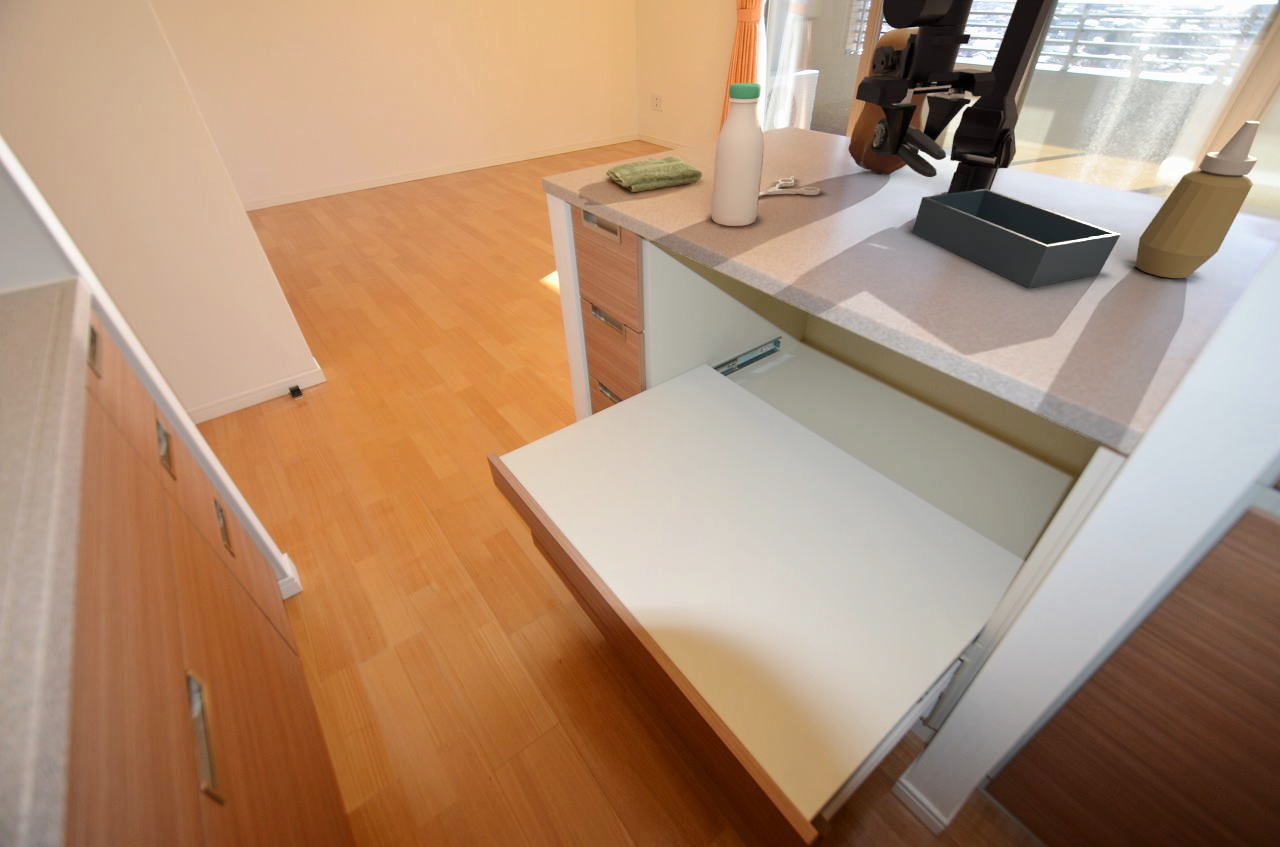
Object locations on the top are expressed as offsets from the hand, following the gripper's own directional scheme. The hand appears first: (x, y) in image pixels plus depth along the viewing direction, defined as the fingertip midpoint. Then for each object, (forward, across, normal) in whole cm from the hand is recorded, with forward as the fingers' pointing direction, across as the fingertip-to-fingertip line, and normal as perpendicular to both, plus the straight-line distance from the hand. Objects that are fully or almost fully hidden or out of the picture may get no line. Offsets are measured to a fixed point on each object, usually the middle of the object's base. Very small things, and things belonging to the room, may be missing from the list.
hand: (908, 153), depth 81 cm
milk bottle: (+11, +22, -12) cm, 28 cm away
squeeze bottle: (+12, -24, +27) cm, 38 cm away
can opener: (+2, 0, 0) cm, 2 cm away
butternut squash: (+12, -20, -30) cm, 38 cm away
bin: (+11, -8, +14) cm, 20 cm away
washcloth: (+11, +28, -40) cm, 50 cm away
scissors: (+11, +9, -24) cm, 28 cm away
